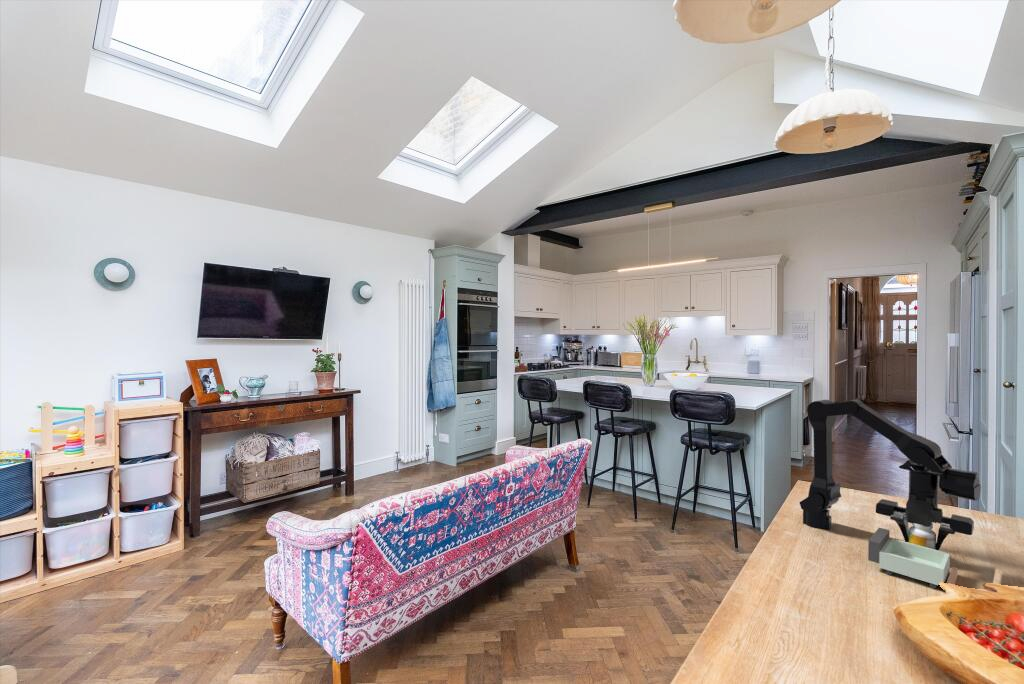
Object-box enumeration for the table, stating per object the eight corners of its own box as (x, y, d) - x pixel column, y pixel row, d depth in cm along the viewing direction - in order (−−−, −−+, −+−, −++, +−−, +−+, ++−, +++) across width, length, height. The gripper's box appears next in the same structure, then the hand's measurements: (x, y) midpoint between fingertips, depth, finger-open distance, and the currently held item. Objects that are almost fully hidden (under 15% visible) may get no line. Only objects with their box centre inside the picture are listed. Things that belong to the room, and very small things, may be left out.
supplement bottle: (902, 553, 124) (903, 517, 123) (922, 552, 124) (922, 516, 124) (921, 563, 118) (922, 525, 118) (941, 562, 118) (942, 525, 118)
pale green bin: (868, 569, 116) (868, 540, 115) (878, 554, 123) (879, 527, 123) (943, 592, 105) (943, 560, 105) (949, 574, 113) (950, 545, 113)
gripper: (871, 486, 122) (870, 545, 123) (970, 507, 108) (968, 572, 109) (880, 478, 130) (879, 533, 130) (974, 495, 116) (973, 557, 116)
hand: (921, 548), depth 121 cm, fingers closed on supplement bottle, 5 cm apart
